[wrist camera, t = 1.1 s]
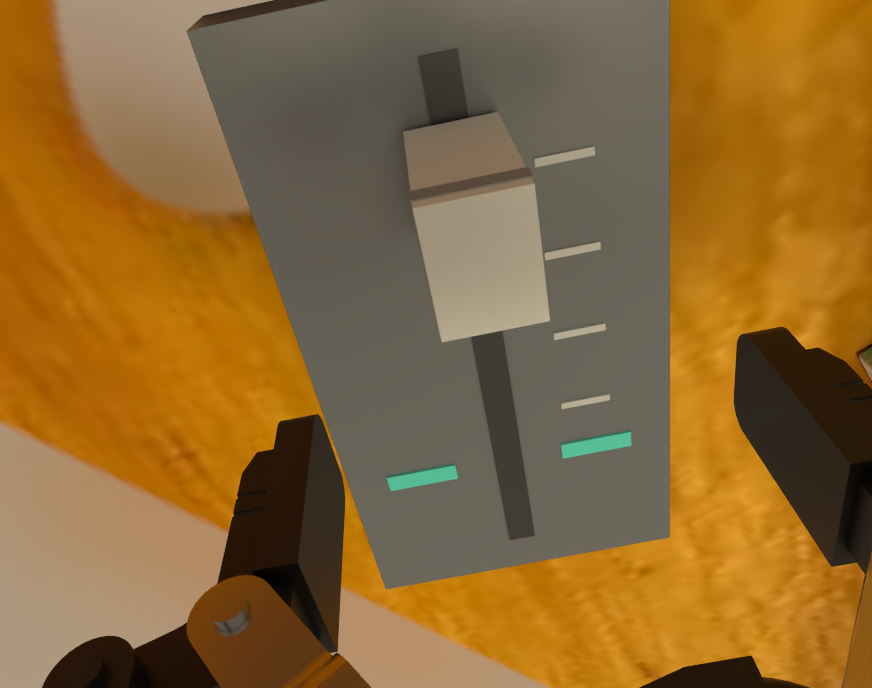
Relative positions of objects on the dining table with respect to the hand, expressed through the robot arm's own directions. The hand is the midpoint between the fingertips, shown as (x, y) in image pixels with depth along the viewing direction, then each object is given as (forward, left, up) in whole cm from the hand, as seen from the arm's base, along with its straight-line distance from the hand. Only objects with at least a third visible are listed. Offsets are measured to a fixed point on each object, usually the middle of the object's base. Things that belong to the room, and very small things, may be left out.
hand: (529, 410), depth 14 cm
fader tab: (0, 0, -12) cm, 12 cm away
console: (+7, 0, -15) cm, 16 cm away
